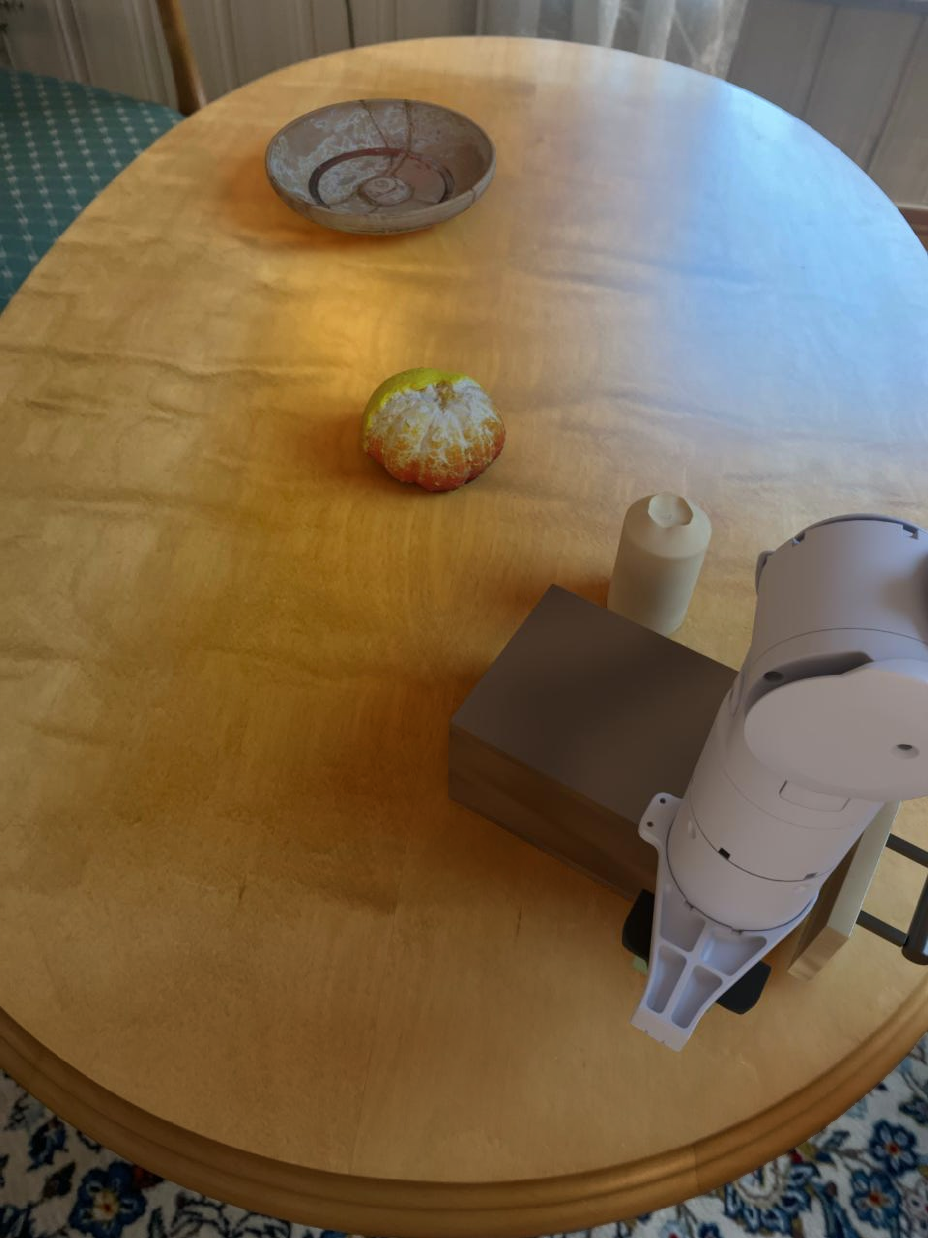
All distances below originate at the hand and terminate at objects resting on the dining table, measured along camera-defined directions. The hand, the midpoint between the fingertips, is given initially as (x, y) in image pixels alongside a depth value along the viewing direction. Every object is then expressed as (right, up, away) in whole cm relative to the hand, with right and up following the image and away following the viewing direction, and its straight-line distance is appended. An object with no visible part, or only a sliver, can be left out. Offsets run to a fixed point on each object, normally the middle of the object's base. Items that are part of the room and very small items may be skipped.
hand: (693, 941), depth 45 cm
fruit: (-13, +28, +33) cm, 45 cm away
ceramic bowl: (-19, +59, +57) cm, 84 cm away
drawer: (+7, +1, +11) cm, 13 cm away
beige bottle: (+2, +15, +24) cm, 28 cm away
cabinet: (-3, +5, +15) cm, 16 cm away
